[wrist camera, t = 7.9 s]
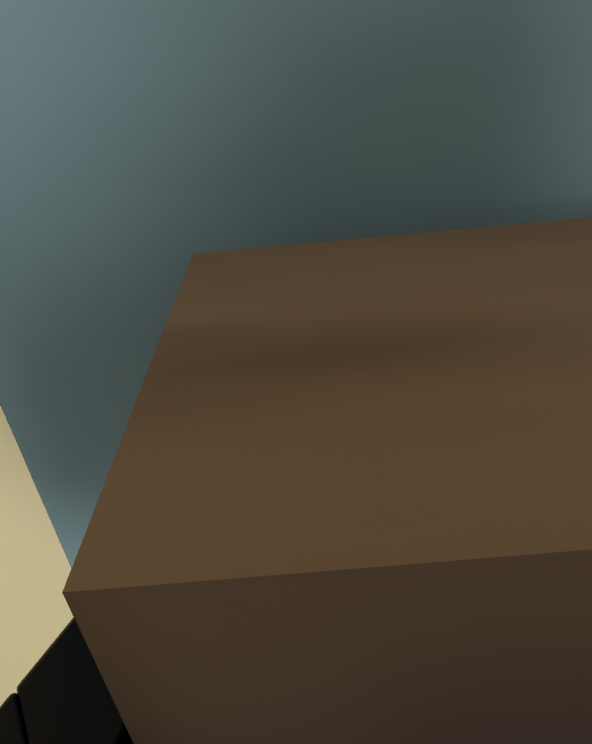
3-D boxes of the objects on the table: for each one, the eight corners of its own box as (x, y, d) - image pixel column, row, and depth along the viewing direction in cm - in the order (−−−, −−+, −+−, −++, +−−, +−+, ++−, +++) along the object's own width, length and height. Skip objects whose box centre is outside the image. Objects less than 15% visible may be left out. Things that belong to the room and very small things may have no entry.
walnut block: (579, 541, 10) (805, 915, 6) (251, 567, 10) (234, 956, 6) (668, 210, 7) (1310, 489, 3) (192, 252, 7) (62, 593, 3)
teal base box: (603, 488, 17) (688, 606, 13) (141, 525, 17) (107, 651, 13) (780, -127, 9) (1074, -221, 6) (-40, -49, 9) (-218, -99, 6)
